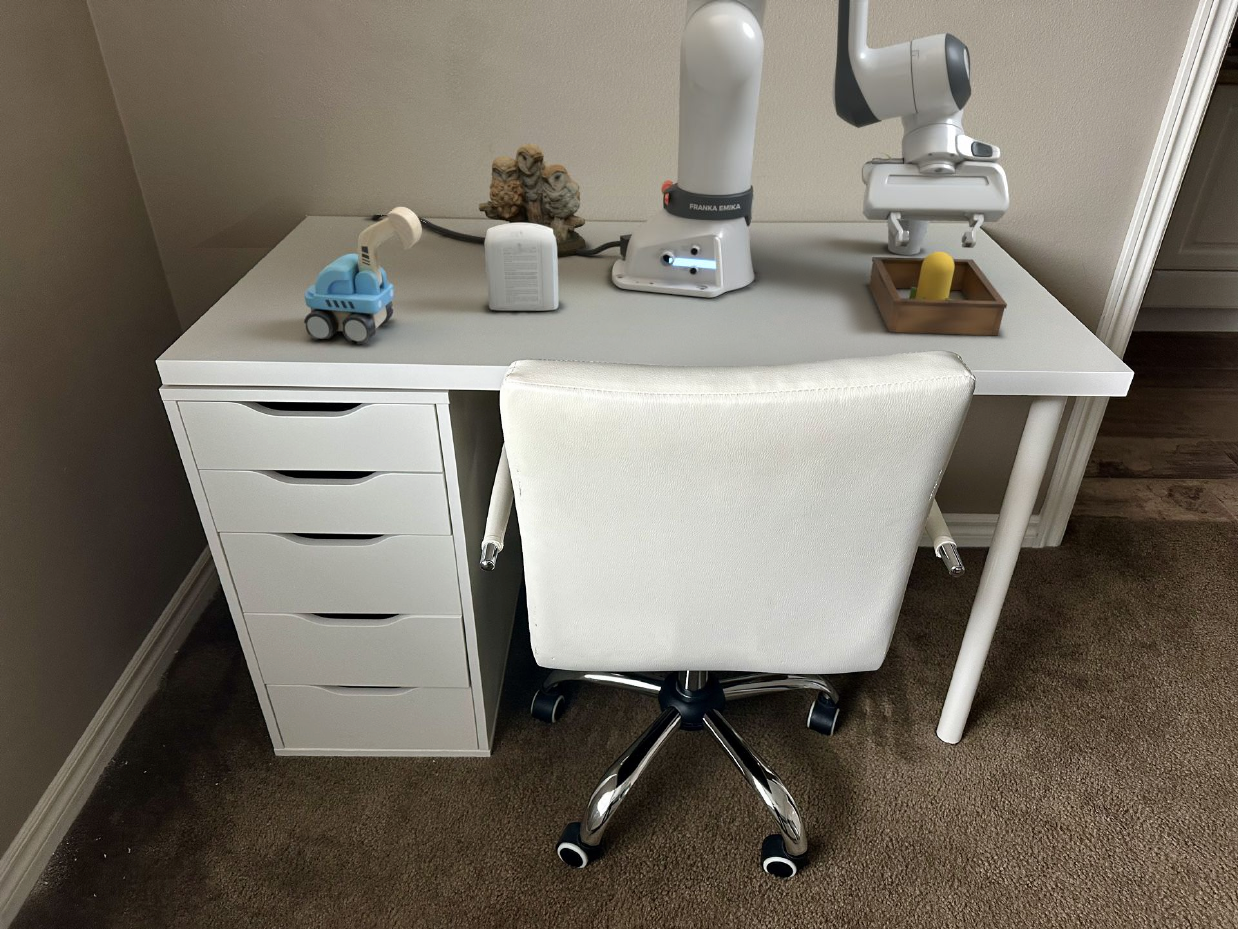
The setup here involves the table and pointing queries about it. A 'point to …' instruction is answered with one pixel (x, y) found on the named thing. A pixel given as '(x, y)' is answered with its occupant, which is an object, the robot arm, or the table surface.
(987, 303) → the wooden box
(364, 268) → the toy excavator
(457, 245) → the table surface
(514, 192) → the owl figurine
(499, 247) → the white rounded block
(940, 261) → the corn plush toy
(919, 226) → the house plant
